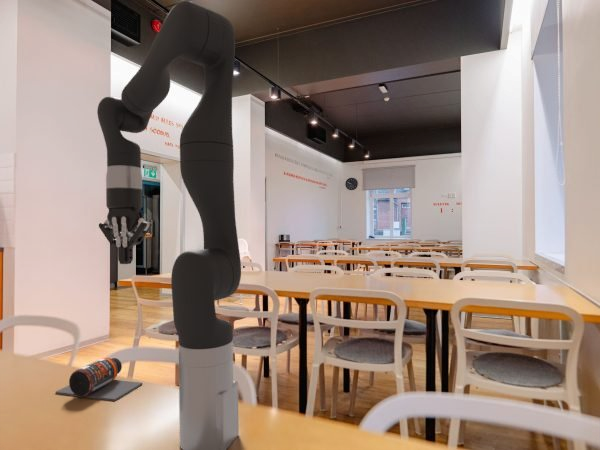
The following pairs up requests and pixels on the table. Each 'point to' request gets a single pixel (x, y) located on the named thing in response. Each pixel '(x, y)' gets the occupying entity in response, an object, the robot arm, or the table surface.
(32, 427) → the table surface
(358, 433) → the table surface
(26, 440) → the table surface
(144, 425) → the table surface
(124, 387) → the rubber mat
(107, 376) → the supplement bottle
